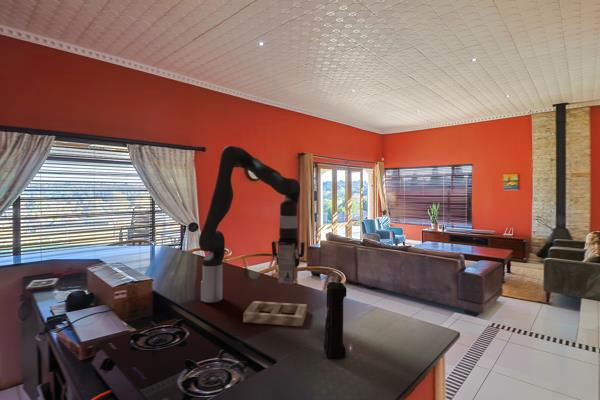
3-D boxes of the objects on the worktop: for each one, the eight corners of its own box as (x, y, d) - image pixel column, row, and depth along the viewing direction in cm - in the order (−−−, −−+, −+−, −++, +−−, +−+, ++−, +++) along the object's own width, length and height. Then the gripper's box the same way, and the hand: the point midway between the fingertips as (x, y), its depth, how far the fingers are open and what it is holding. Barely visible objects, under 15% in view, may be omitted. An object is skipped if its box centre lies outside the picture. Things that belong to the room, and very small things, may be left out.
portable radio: (322, 347, 103) (323, 274, 102) (340, 346, 104) (341, 273, 103) (326, 360, 95) (327, 281, 95) (345, 359, 96) (346, 280, 95)
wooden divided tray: (243, 322, 123) (243, 313, 122) (253, 308, 136) (253, 301, 136) (302, 326, 119) (302, 317, 119) (306, 312, 133) (306, 304, 133)
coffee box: (283, 276, 132) (283, 239, 131) (297, 277, 131) (298, 240, 130) (277, 282, 123) (277, 243, 122) (293, 284, 122) (293, 243, 121)
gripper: (269, 227, 123) (269, 268, 124) (304, 228, 121) (304, 269, 122) (273, 225, 131) (273, 263, 131) (306, 226, 129) (306, 265, 129)
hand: (288, 266), depth 126 cm, fingers closed on coffee box, 6 cm apart
